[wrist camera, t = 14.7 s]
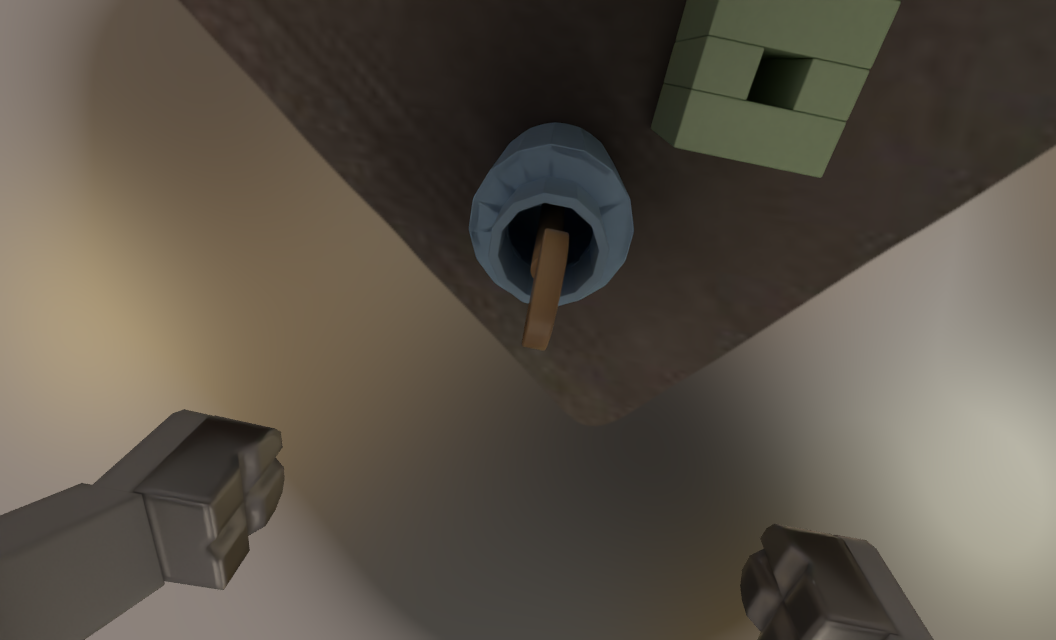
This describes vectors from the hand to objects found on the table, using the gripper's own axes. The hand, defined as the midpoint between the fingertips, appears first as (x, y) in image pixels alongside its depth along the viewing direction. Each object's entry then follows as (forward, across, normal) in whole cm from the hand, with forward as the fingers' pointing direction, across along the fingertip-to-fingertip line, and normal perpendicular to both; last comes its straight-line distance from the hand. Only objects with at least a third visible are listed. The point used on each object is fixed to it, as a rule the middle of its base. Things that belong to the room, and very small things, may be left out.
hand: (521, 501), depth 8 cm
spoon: (+24, 0, 0) cm, 24 cm away
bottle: (+24, 0, 0) cm, 25 cm away
